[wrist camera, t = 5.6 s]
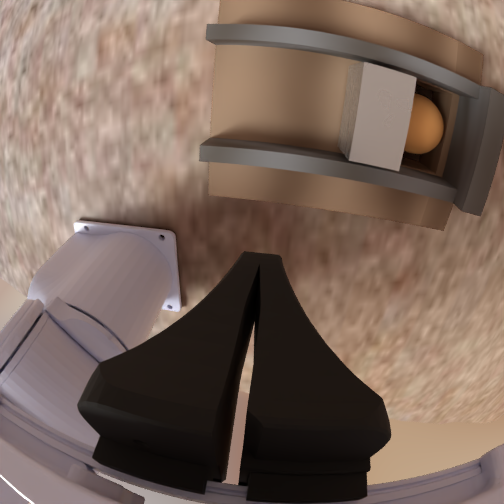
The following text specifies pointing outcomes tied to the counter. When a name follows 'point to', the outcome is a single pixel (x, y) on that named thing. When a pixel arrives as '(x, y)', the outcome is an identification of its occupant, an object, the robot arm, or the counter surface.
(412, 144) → the ball
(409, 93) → the plunger
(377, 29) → the launcher
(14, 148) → the counter surface
